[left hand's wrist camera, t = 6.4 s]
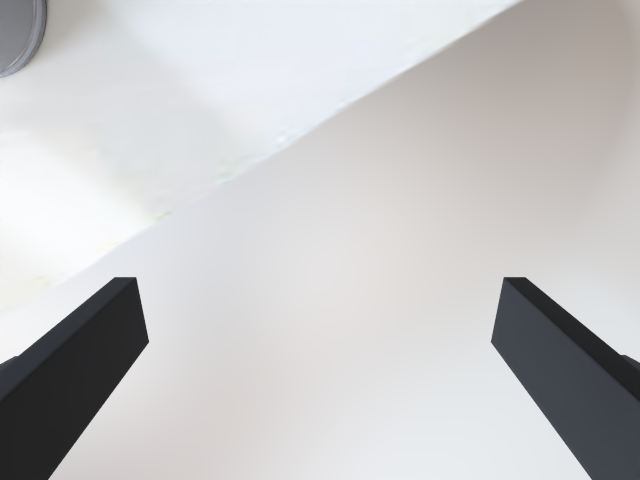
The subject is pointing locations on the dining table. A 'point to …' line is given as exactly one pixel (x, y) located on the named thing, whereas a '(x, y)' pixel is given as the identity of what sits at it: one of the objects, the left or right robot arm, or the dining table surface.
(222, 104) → the dining table surface
